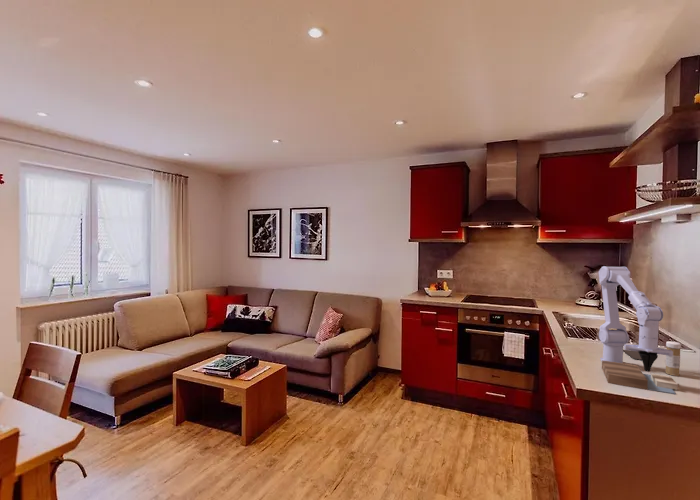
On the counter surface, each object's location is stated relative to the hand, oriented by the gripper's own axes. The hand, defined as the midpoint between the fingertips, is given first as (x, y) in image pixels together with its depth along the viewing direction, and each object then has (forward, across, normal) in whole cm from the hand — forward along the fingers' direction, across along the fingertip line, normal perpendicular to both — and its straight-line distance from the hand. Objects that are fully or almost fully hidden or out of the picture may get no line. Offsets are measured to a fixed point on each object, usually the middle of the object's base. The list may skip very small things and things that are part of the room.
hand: (646, 370), depth 139 cm
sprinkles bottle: (+5, +12, +16) cm, 20 cm away
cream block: (+2, +5, 0) cm, 6 cm away
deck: (+4, -8, 0) cm, 9 cm away
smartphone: (+5, +4, +38) cm, 39 cm away
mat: (+4, +3, 0) cm, 5 cm away
